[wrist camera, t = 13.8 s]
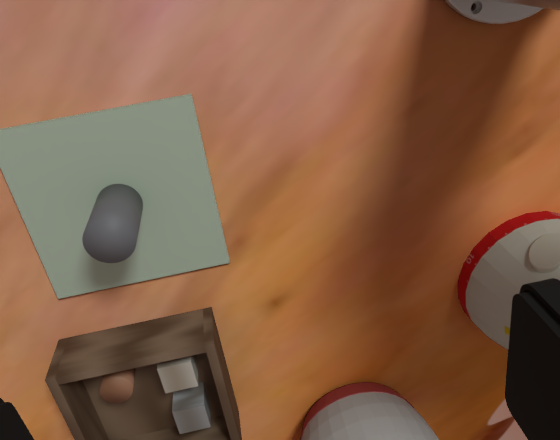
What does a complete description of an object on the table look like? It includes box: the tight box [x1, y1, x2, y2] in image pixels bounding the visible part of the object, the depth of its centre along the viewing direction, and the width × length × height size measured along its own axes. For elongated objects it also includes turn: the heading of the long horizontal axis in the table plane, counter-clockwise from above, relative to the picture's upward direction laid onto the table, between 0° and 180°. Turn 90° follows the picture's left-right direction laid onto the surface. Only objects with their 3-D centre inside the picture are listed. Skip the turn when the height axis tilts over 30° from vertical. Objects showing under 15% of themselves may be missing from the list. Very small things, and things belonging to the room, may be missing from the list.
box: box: [45, 307, 242, 440], centre depth 48 cm, size 14×14×5 cm
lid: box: [0, 94, 230, 299], centre depth 38 cm, size 15×15×7 cm
